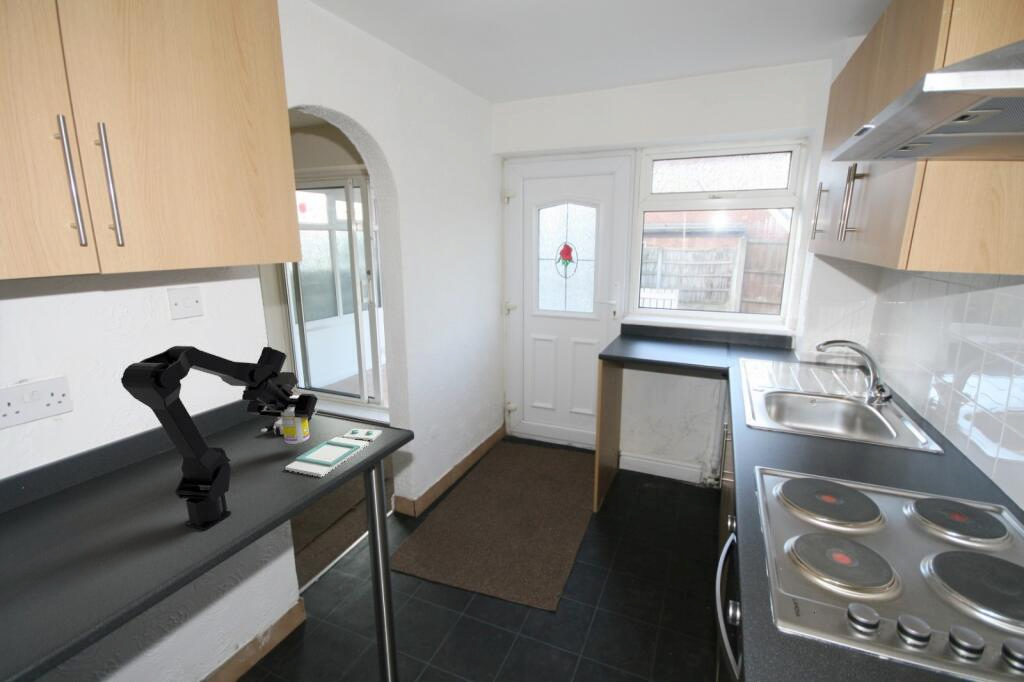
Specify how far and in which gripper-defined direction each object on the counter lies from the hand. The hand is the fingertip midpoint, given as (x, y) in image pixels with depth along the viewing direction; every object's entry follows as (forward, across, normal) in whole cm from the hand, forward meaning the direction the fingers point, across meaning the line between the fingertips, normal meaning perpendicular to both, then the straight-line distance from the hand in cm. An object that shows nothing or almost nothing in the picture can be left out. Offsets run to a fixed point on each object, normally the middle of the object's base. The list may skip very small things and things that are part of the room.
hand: (297, 416), depth 136 cm
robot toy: (+18, +13, -3) cm, 22 cm away
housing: (+5, -11, +10) cm, 15 cm away
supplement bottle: (+4, 0, +6) cm, 7 cm away
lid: (+15, -14, -1) cm, 20 cm away
